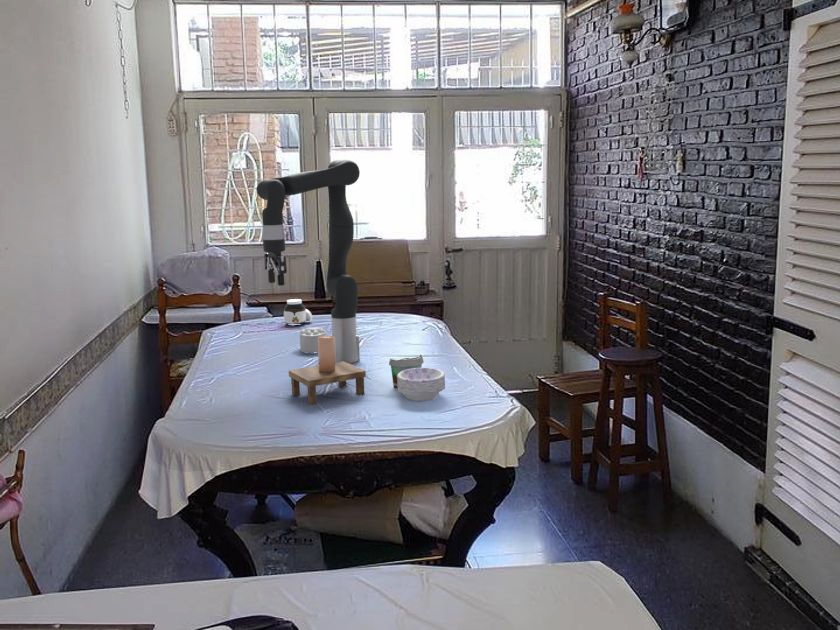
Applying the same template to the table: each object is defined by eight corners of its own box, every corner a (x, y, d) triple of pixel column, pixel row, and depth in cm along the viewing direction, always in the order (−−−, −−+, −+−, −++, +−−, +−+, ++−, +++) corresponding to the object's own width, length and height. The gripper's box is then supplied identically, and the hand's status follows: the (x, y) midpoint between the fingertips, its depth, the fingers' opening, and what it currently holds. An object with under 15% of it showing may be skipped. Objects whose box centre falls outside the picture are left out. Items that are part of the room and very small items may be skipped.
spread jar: (282, 326, 378) (281, 301, 376) (290, 321, 389) (289, 297, 387) (307, 326, 376) (306, 301, 374) (314, 321, 387) (313, 297, 385)
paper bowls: (408, 406, 249) (408, 382, 248) (390, 394, 263) (390, 370, 262) (453, 400, 255) (452, 375, 254) (433, 388, 269) (432, 365, 268)
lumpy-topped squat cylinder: (326, 345, 336) (325, 325, 334) (326, 353, 323) (324, 331, 321) (301, 347, 335) (300, 326, 333) (299, 354, 322) (298, 332, 320)
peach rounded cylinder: (331, 367, 267) (330, 334, 265) (338, 371, 263) (337, 337, 261) (316, 369, 265) (315, 336, 263) (322, 373, 260) (321, 339, 258)
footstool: (344, 384, 277) (343, 361, 275) (366, 394, 263) (365, 370, 262) (289, 393, 267) (288, 370, 265) (310, 405, 253) (308, 380, 252)
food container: (397, 392, 265) (396, 362, 264) (389, 387, 271) (388, 358, 269) (430, 386, 271) (430, 357, 269) (422, 382, 276) (421, 354, 274)
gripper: (291, 238, 277) (294, 285, 280) (276, 235, 289) (278, 280, 292) (271, 240, 273) (274, 287, 276) (256, 237, 285) (258, 282, 288)
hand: (276, 284), depth 284 cm, fingers open, 8 cm apart
